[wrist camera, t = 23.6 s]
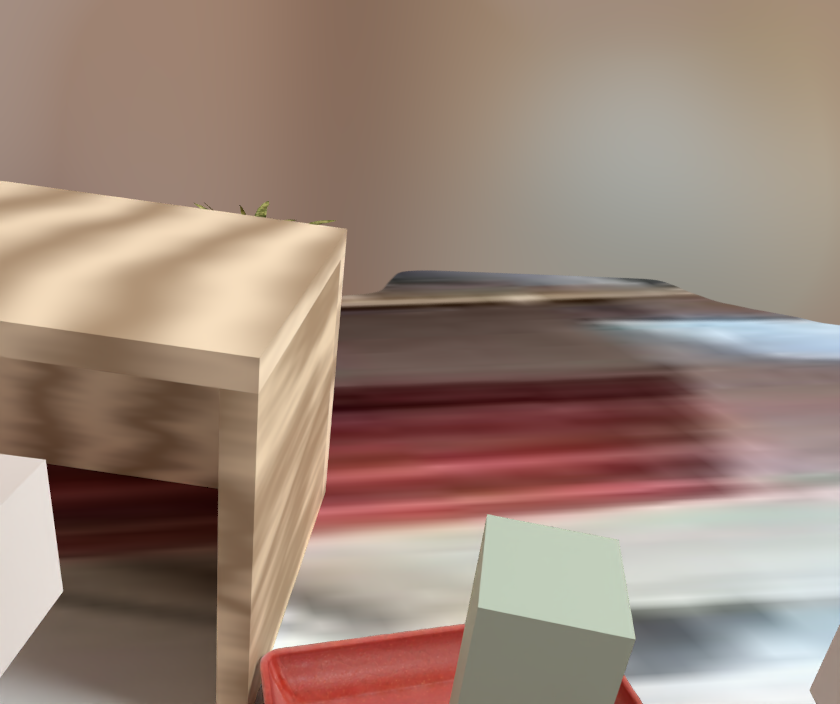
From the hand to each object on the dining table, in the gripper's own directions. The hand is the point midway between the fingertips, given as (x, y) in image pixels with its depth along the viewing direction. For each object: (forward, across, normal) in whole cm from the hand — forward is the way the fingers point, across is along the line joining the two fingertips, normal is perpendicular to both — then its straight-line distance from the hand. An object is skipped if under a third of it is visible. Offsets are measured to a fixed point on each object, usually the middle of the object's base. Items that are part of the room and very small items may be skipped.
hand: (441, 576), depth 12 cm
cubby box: (+23, -20, -23) cm, 38 cm away
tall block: (+11, +4, -21) cm, 24 cm away
